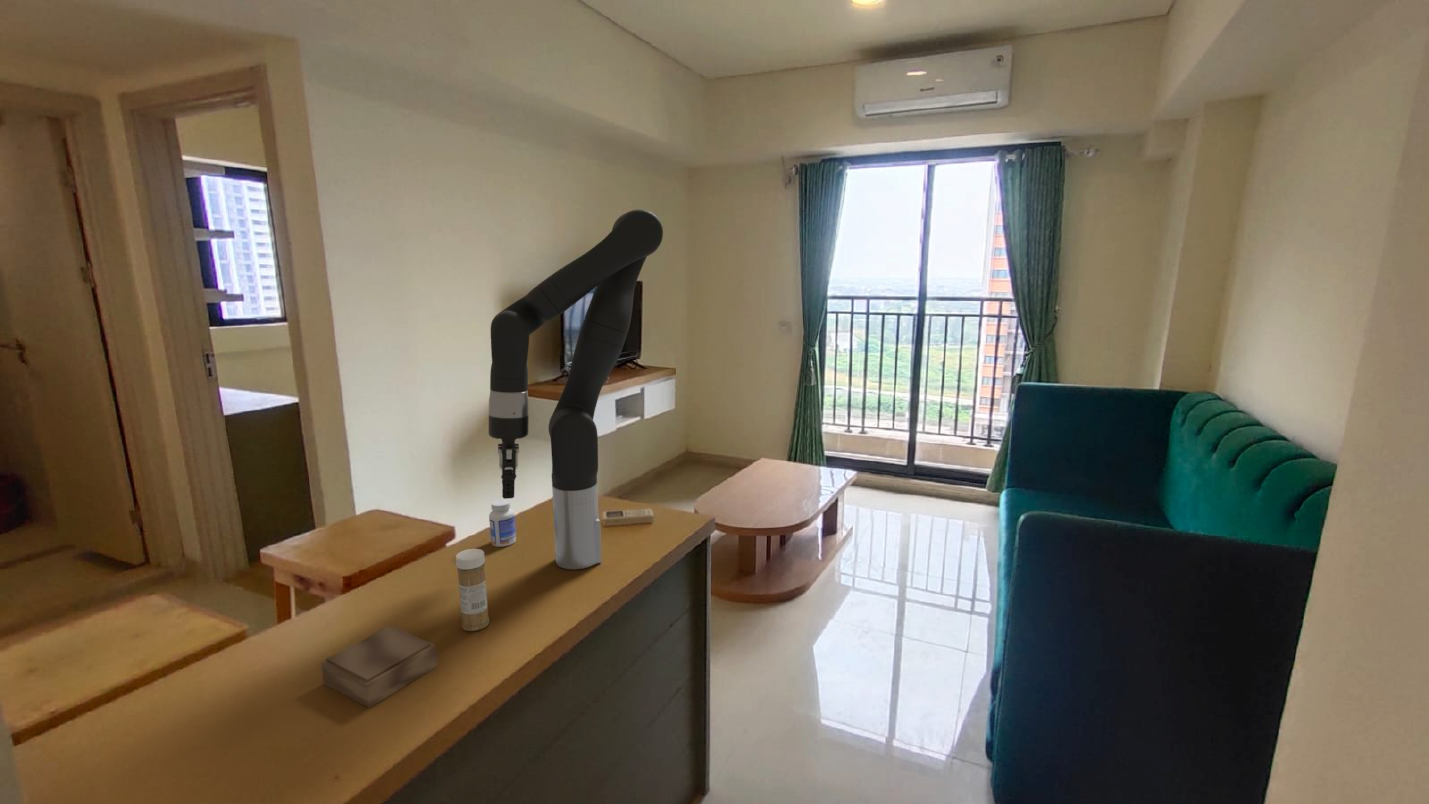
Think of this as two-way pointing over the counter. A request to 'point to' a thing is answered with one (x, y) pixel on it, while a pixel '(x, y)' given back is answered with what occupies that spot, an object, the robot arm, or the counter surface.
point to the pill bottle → (502, 524)
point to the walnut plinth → (379, 665)
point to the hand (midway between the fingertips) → (507, 491)
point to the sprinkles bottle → (472, 589)
